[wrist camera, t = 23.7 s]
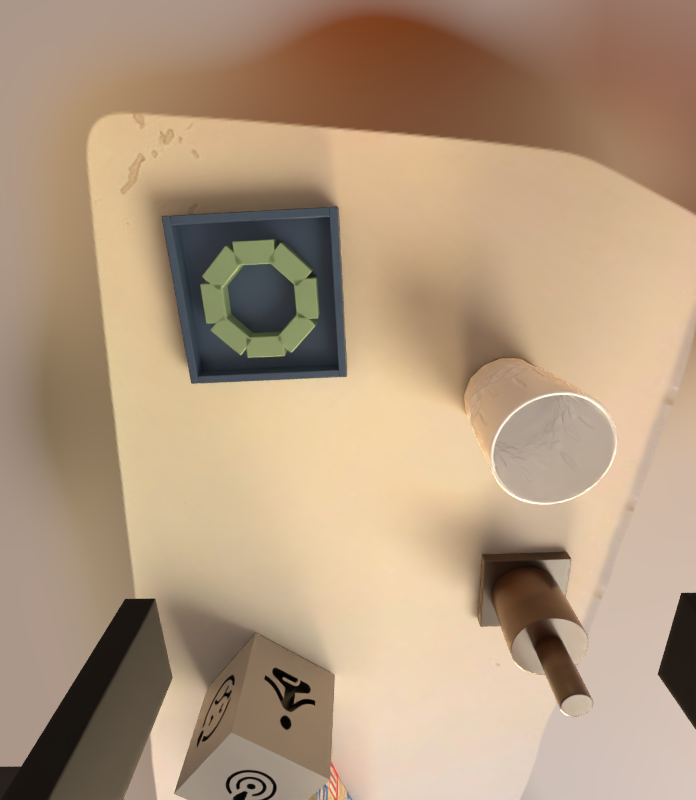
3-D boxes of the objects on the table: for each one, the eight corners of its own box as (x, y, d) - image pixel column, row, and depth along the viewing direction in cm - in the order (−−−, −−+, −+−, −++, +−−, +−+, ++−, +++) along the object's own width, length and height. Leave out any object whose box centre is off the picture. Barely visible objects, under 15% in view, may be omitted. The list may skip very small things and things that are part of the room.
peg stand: (566, 551, 43) (641, 664, 32) (557, 616, 46) (623, 741, 35) (481, 554, 44) (526, 667, 32) (477, 619, 46) (517, 743, 35)
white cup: (571, 377, 37) (645, 426, 28) (516, 453, 40) (566, 522, 30) (490, 332, 36) (538, 369, 27) (438, 414, 39) (465, 474, 29)
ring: (314, 237, 33) (312, 237, 32) (322, 349, 36) (321, 354, 35) (200, 243, 34) (193, 243, 32) (217, 354, 36) (211, 359, 35)
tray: (338, 207, 33) (337, 206, 31) (347, 369, 37) (346, 377, 35) (171, 216, 33) (161, 216, 32) (199, 376, 38) (191, 383, 36)
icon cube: (283, 726, 52) (268, 834, 43) (207, 688, 50) (174, 793, 41) (334, 675, 49) (330, 779, 40) (255, 632, 47) (231, 732, 38)
